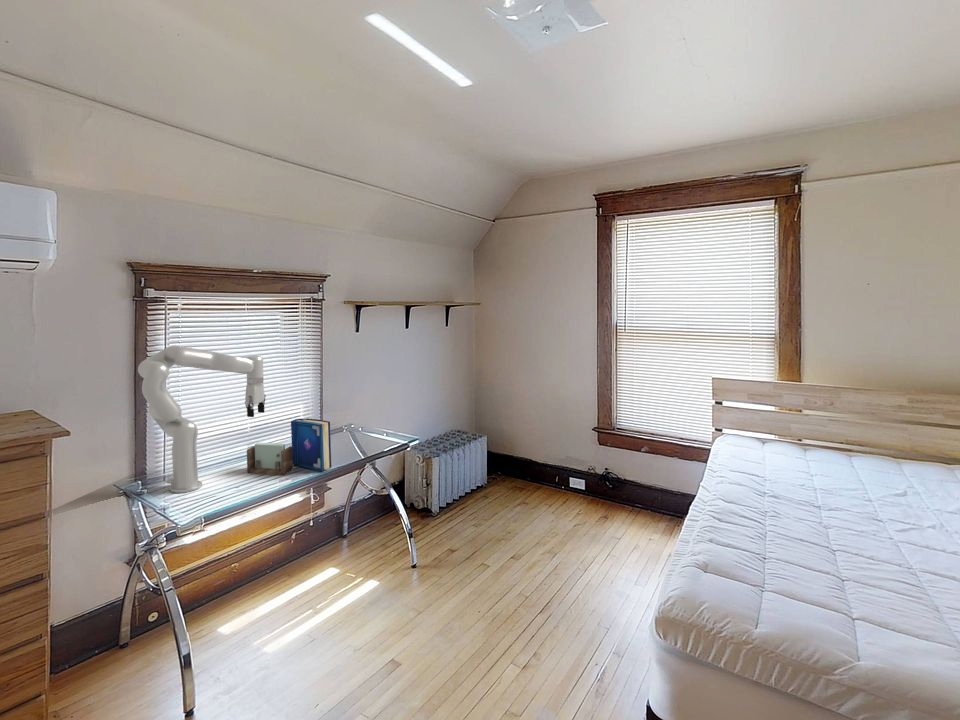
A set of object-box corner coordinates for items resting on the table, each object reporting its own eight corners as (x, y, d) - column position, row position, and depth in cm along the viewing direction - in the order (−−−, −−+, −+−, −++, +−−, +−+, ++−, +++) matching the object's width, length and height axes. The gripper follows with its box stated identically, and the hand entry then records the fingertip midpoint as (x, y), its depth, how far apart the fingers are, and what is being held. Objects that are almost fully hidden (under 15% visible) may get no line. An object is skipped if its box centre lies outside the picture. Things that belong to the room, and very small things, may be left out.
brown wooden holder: (247, 473, 239) (246, 449, 238) (257, 467, 248) (256, 444, 247) (284, 475, 238) (284, 451, 236) (292, 469, 247) (292, 446, 245)
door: (254, 468, 241) (253, 444, 239) (258, 465, 245) (257, 442, 243) (281, 469, 240) (281, 446, 238) (285, 467, 244) (284, 444, 242)
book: (289, 465, 251) (288, 418, 248) (299, 461, 258) (298, 416, 255) (322, 472, 243) (322, 424, 240) (332, 468, 250) (331, 421, 246)
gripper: (257, 377, 249) (258, 410, 251) (237, 383, 232) (238, 418, 234) (271, 378, 248) (272, 411, 250) (252, 384, 231) (253, 419, 233)
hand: (256, 414), depth 242 cm, fingers open, 9 cm apart
